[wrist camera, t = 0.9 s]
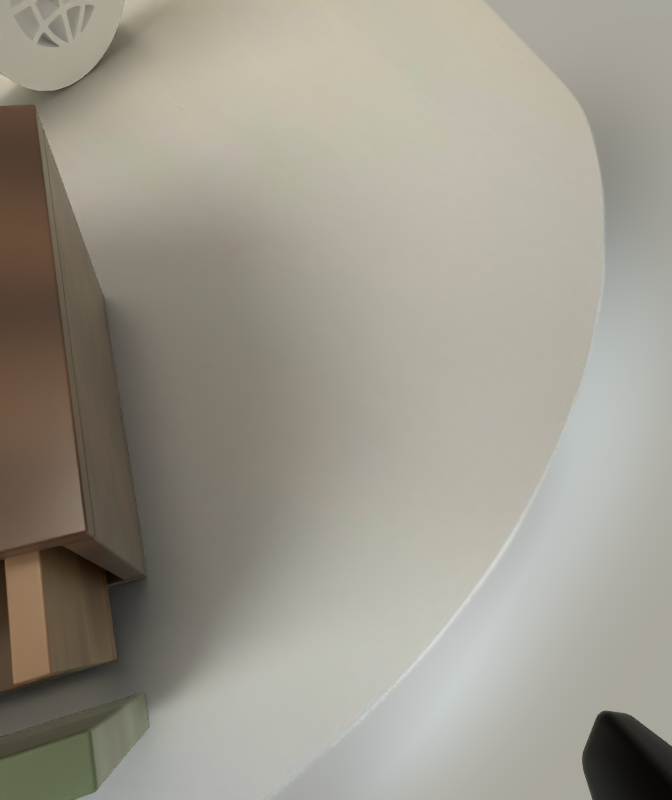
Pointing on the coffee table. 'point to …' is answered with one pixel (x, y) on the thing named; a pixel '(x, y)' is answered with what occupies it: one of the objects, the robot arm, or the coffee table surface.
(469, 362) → the coffee table surface
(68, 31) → the white flat cutout piece
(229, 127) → the coffee table surface
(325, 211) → the coffee table surface
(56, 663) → the drawer
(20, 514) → the cabinet
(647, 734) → the robot arm
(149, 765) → the coffee table surface
